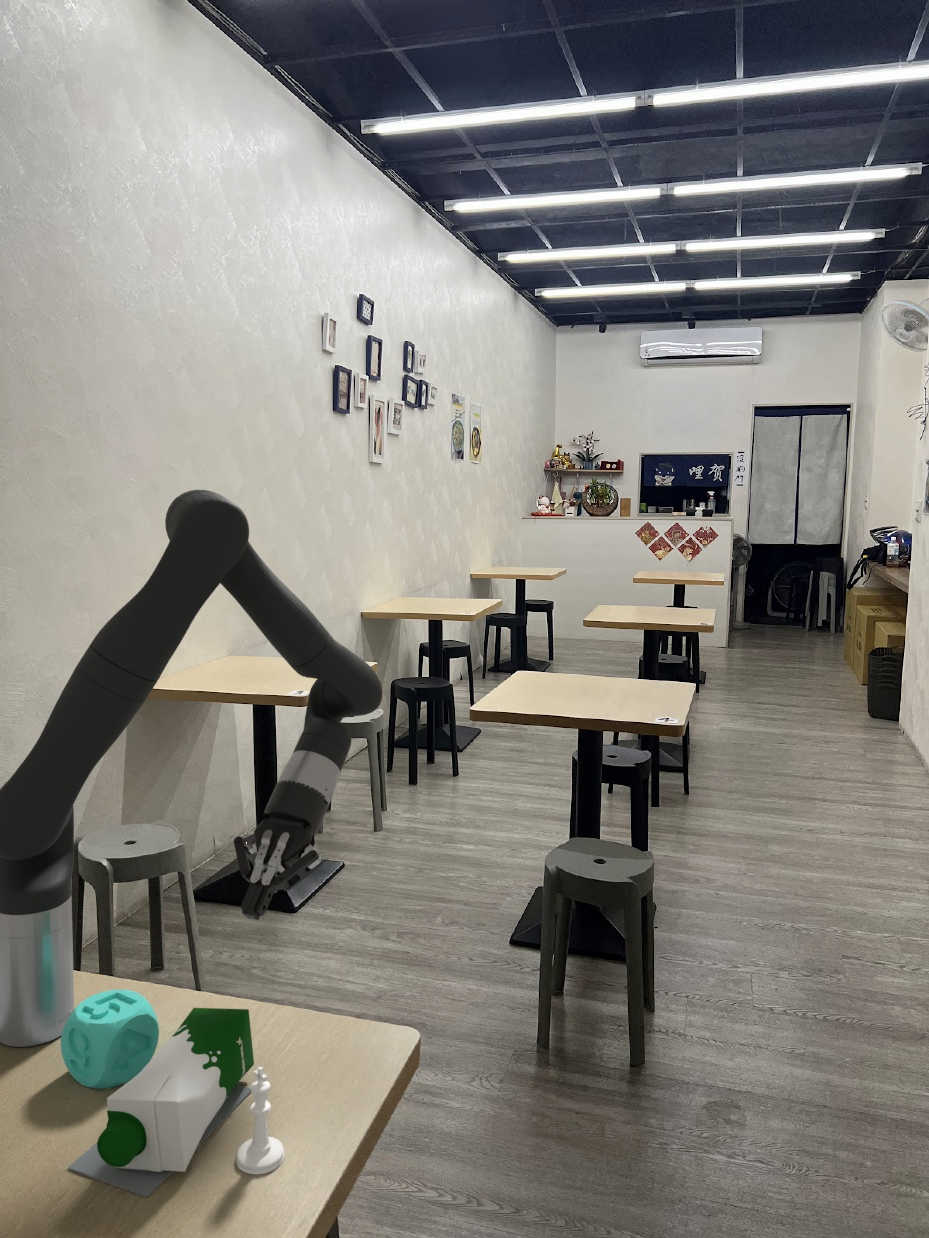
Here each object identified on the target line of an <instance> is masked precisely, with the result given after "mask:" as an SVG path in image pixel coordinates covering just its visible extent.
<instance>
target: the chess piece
mask: <svg viewBox="0 0 929 1238" xmlns="http://www.w3.org/2000/svg"><path fill="white" fill-rule="evenodd" d="M264 1069H265V1068H264V1067H263V1066H258V1067H257V1069H256V1070H254V1071H253V1076H254V1077H255V1078H257V1080H256V1081H254V1082H253V1083H252V1084H251V1085H250V1088H251V1094H252V1097H253V1101H254V1102H253V1103H251V1105H250V1108H249V1111H250V1113H251V1114H252V1115H255V1118H254V1127H253V1135H252V1138H250V1139H248V1140H246V1141H245V1142H243V1143H242V1144H241V1145H240V1146H239V1147H238V1150H237V1153H236V1159H235V1161H236V1162H235V1163H236V1166H237V1168H238V1169H239V1170H240V1171H242V1172H243V1173H245V1174H247V1175H248V1174H249V1175H264V1174H267V1173H270V1172H272V1171H274V1170H276V1169H277V1168H278V1167H280V1165H281V1164H282V1163H283V1162H284V1159H285V1148H284V1144H283V1143H282V1142H281V1141H280V1140H279V1139H277V1138H276V1137H273V1136H269V1132H268V1126H267V1124H268V1123H267V1116H266V1114H268V1113H269V1112H271V1109H272V1105H271V1103H270V1101H268V1100H267V1099H268V1096H269V1092H270V1090H271V1083H270V1082H269V1081H268V1075H266V1074H265V1071H264Z"/></svg>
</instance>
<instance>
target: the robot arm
mask: <svg viewBox="0 0 929 1238" xmlns="http://www.w3.org/2000/svg"><path fill="white" fill-rule="evenodd" d="M165 514H166V515H165V519H164V520H165V521H164V522H165V531H166V535H167V538H168V540H169V542H168V544H167V546H166V548H165V550H164V552H163V553H162V556H161V558H160V559H159V561H158V563H157V565H156V567H155V568H154V570H153V572H152V573H151V575H150V576H149V578H148V580H147V581H146V582H145V584H144V585H143V587H142V588H140V590H139V591H138V592H137V593H136V594H135V595H134V596H132V598H131V599H129V600H128V602H126V603H125V605H123V606H122V607H121V608H120V609H118V611H117V612H116V613H115V614H113V616H112V617H111V618H110V619H109V620H108V621H107V622H106V623H105V624H104V626H103V627H102V628H101V629H100V630H99V631H98V633H96V635H95V637H94V638H93V640H92V641H91V642H90V644H89V646H88V648H87V649H86V650H85V652H84V653H83V655H82V657H81V658H80V659H79V661H78V663H77V665H76V666H75V668H74V669H73V672H72V673H71V674H70V677H69V678H68V680H67V682H66V684H65V685H64V687H63V689H62V691H61V693H60V695H59V697H58V699H57V701H56V702H55V705H54V706H53V708H52V710H51V713H50V715H49V717H48V718H47V721H46V723H45V725H44V727H43V729H42V732H41V733H40V735H39V737H38V739H37V741H36V742H35V744H34V745H33V747H32V748H31V750H30V751H29V753H28V754H27V756H26V757H25V759H24V760H23V761H22V762H21V763H20V765H19V766H18V767H17V769H16V770H15V772H14V773H13V774H12V775H11V777H10V778H9V779H7V781H6V782H5V783H4V784H3V785H2V786H1V787H0V1043H1V1044H2V1045H5V1046H9V1047H14V1048H15V1047H16V1048H21V1047H22V1048H23V1047H24V1048H26V1047H33V1046H38V1045H42V1044H44V1043H49V1042H51V1041H53V1040H55V1039H57V1038H59V1037H61V1036H62V1032H63V1029H64V1026H65V1024H66V1021H67V1020H68V1018H69V1016H70V1015H71V1013H72V1012H73V1011H74V1009H75V999H74V998H75V989H74V988H75V987H74V985H75V984H74V983H75V982H74V947H73V946H74V941H73V940H74V939H73V938H74V937H73V910H72V909H73V906H72V905H73V904H72V901H73V900H72V881H73V880H72V879H73V874H74V873H73V871H74V865H75V864H74V862H75V822H74V821H75V817H74V816H75V815H74V814H75V811H74V810H75V809H74V804H75V803H76V801H77V798H78V796H79V795H80V792H81V790H82V788H83V786H84V784H85V783H86V781H87V780H88V778H89V776H90V775H91V773H92V771H93V770H94V768H95V767H96V766H97V764H98V763H99V762H100V760H101V759H102V758H103V757H104V756H105V754H107V752H108V750H110V748H111V747H112V746H113V744H115V742H116V741H117V740H118V738H119V737H120V736H121V735H122V734H123V732H124V731H125V729H126V728H127V727H128V725H129V724H130V723H131V721H132V720H133V718H134V717H135V716H136V715H137V713H138V711H139V710H140V709H141V708H142V706H143V705H144V704H145V701H146V700H147V699H148V697H149V695H150V693H151V692H152V690H153V689H154V687H155V686H156V685H157V683H158V681H159V679H160V678H161V677H162V674H163V672H164V671H165V669H166V667H167V666H168V663H169V662H170V660H171V658H173V656H174V654H175V652H176V651H177V649H178V648H179V646H180V645H181V642H182V641H183V639H184V637H185V636H186V634H187V632H188V630H189V629H190V627H191V625H192V623H193V621H194V620H195V618H196V616H197V615H198V614H199V612H200V610H201V609H202V607H204V604H206V602H207V600H209V598H210V596H211V595H212V594H213V593H214V592H215V591H216V589H217V587H219V586H220V585H221V586H222V587H223V588H224V589H225V590H226V591H227V592H228V593H229V594H230V595H231V596H232V598H233V599H235V601H236V602H237V603H238V604H239V606H240V607H241V608H242V609H243V611H244V612H245V613H246V614H247V615H248V617H249V618H250V619H251V620H252V621H253V623H254V625H256V627H257V628H258V629H259V630H260V632H261V633H262V635H263V636H264V637H265V638H266V639H267V641H268V642H269V643H270V644H271V646H272V647H273V648H274V649H275V650H276V651H277V652H278V653H279V655H280V656H281V657H282V658H283V659H284V661H286V663H287V664H288V665H289V666H290V667H291V669H292V670H293V671H295V672H296V673H297V674H298V675H300V676H301V677H305V678H310V679H315V681H314V683H313V684H312V686H311V688H310V689H309V690H310V691H309V693H308V698H307V703H306V711H305V716H304V723H303V730H302V733H301V734H300V737H299V738H298V740H297V743H296V745H295V747H294V749H293V751H292V753H291V755H290V758H289V760H288V761H286V764H285V765H284V766H283V767H284V768H283V769H282V772H281V773H280V776H279V778H278V780H277V782H276V784H275V786H274V789H273V790H272V794H271V796H270V797H269V800H268V802H267V804H266V806H265V809H264V812H263V817H262V821H261V822H260V823H259V824H258V825H257V826H256V827H255V828H254V830H253V833H252V834H250V835H247V836H246V837H242V836H241V835H239V836H236V837H235V838H234V840H233V845H234V849H235V854H236V858H237V864H238V867H239V873H240V875H241V876H242V877H243V879H245V880H246V881H247V882H248V883H249V886H248V888H247V891H246V893H245V895H244V898H243V900H242V902H241V904H240V905H241V906H240V909H241V913H242V915H243V916H244V917H245V918H247V919H250V920H254V921H259V920H260V918H261V917H264V915H265V914H266V912H267V910H268V907H269V905H270V903H271V901H272V898H273V896H274V894H275V893H277V892H278V891H282V890H284V891H285V892H288V891H290V890H292V889H294V887H295V886H297V885H299V884H300V883H301V882H302V881H303V880H305V879H306V878H308V877H309V876H310V875H311V874H313V873H314V872H315V871H316V870H318V869H319V868H321V867H322V866H323V864H324V859H323V858H322V856H321V855H320V854H319V853H318V851H317V850H316V849H315V848H314V847H315V844H316V839H315V836H316V834H317V833H318V832H319V830H320V827H321V826H322V822H323V820H324V818H325V816H326V812H327V810H328V808H329V805H330V803H331V801H332V799H333V797H334V795H335V794H334V793H335V791H336V788H337V784H338V781H339V778H340V774H341V772H342V770H343V766H344V764H345V762H346V760H347V757H348V755H349V752H350V750H351V747H352V735H351V732H350V731H349V730H348V729H347V728H346V727H345V726H344V725H343V724H341V723H342V721H343V719H344V718H351V717H361V716H366V715H369V714H371V713H373V712H375V711H376V710H377V709H378V708H379V707H380V706H381V702H382V699H383V692H384V691H383V686H382V682H381V680H380V678H379V676H378V674H377V673H376V672H375V670H374V669H373V668H372V667H371V666H370V664H368V663H367V662H366V661H364V659H362V658H361V657H359V656H358V655H357V654H355V653H354V652H353V651H351V650H350V649H349V648H347V647H346V646H344V645H343V644H341V643H339V642H338V641H337V640H336V639H334V638H333V636H332V635H331V633H330V632H329V631H328V630H327V628H326V627H325V626H324V625H323V624H322V623H321V622H320V620H319V619H318V618H317V616H316V615H315V614H314V613H313V612H312V611H311V610H310V609H309V607H307V605H306V604H305V603H304V601H302V600H301V599H300V598H299V597H298V596H297V595H296V594H295V593H294V592H293V591H292V590H291V589H290V588H289V587H288V586H287V585H286V584H285V583H284V582H283V581H282V579H280V578H279V577H278V576H277V575H276V574H275V573H274V572H273V571H272V570H271V568H269V566H268V565H267V564H266V563H265V562H264V560H263V559H262V558H261V557H260V555H259V554H258V552H256V550H255V549H254V547H253V546H252V544H251V543H250V541H249V539H250V525H249V522H248V518H247V516H246V514H245V512H244V511H243V509H241V508H240V506H238V505H237V504H236V503H235V502H233V501H232V500H230V499H229V498H227V497H226V496H223V495H221V494H220V493H217V492H215V491H212V490H207V489H192V490H189V491H186V492H185V491H184V492H183V493H181V494H179V495H178V496H177V497H176V498H174V500H172V502H171V503H170V505H169V506H168V508H167V511H166V513H165ZM255 849H256V856H255V859H253V854H255Z"/></svg>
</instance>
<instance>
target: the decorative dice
mask: <svg viewBox="0 0 929 1238" xmlns="http://www.w3.org/2000/svg"><path fill="white" fill-rule="evenodd" d="M159 1036H160V1027H159V1022H158V1017H157V1014H156V1012H155V1010H154V1008H153V1006H152V1005H151V1003H150V1002H149V1001H148V999H146V998H145V997H144V996H143V995H141V994H140V993H139V992H137V991H133V990H131V989H130V990H129V989H112V990H111V989H110V990H106V991H101V992H98V993H96V994H92V995H91V996H88V997H86V998H85V999H83V1000H82V1001H81V1002H80V1003H79V1004H77V1006H76V1007H74V1011H73V1012H72V1013H71V1015H70V1016H69V1018H68V1020H67V1021H66V1024H65V1026H64V1029H63V1032H62V1035H61V1036H60V1050H61V1055H62V1059H63V1061H64V1064H65V1067H66V1069H67V1070H68V1072H69V1074H70V1076H72V1077H73V1078H74V1080H75V1081H76V1082H78V1083H79V1084H81V1085H83V1086H84V1087H86V1088H91V1089H97V1090H99V1089H100V1090H101V1089H110V1088H111V1089H112V1088H115V1087H119V1086H123V1085H125V1084H126V1083H127V1082H129V1081H130V1080H131V1079H133V1078H134V1077H135V1076H137V1075H138V1074H139V1073H140V1072H141V1071H142V1070H143V1069H144V1067H145V1066H146V1065H147V1064H148V1063H149V1062H150V1061H151V1060H152V1058H153V1057H154V1056H155V1052H156V1050H157V1047H158V1042H159V1038H160V1037H159Z"/></svg>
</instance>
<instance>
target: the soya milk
mask: <svg viewBox="0 0 929 1238" xmlns="http://www.w3.org/2000/svg"><path fill="white" fill-rule="evenodd" d="M253 1050H254V1049H253V1039H252V1029H251V1019H250V1010H249V1008H247V1009H246V1008H222V1007H221V1008H219V1007H218V1008H217V1007H216V1008H215V1007H192V1010H191V1011H190V1012H189V1013H188V1015H187V1016H186V1018H185V1019H184V1021H182V1023H181V1025H180V1026H179V1027H178V1028H177V1029H176V1031H175V1032H174V1034H172V1036H171V1037H170V1038H169V1039H168V1041H166V1043H165V1044H164V1045H163V1046H162V1047H161V1048H160V1049H159V1050H158V1052H156V1053H155V1054H154V1055H153V1057H152V1058H151V1060H150V1062H149V1063H148V1064H147V1065H146V1066H145V1067H144V1069H143V1070H142V1071H141V1072H140V1073H139V1074H138V1075H137V1076H135V1077H134V1078H133V1079H131V1080H130V1081H129V1082H127V1083H124V1084H123V1085H121V1087H119V1088H118V1089H117V1090H116V1091H115V1092H113V1093H112V1094H111V1095H109V1096H107V1098H106V1104H107V1110H106V1113H107V1123H106V1127H105V1129H104V1130H103V1131H102V1132H101V1134H100V1135H99V1137H98V1139H97V1142H96V1143H97V1149H98V1153H99V1155H100V1157H101V1158H102V1159H103V1160H104V1161H105V1162H106V1163H107V1164H109V1165H111V1166H113V1167H115V1168H125V1169H137V1170H150V1171H154V1172H162V1171H163V1170H165V1171H173V1172H181V1173H182V1172H183V1173H184V1172H185V1173H186V1171H187V1168H188V1166H189V1164H190V1161H191V1159H192V1158H193V1156H194V1153H195V1152H196V1149H197V1148H198V1147H197V1145H198V1143H199V1141H200V1139H201V1137H202V1135H203V1133H204V1131H205V1129H206V1128H207V1126H208V1125H209V1124H210V1122H211V1121H212V1119H213V1118H214V1116H215V1115H216V1113H217V1112H218V1111H219V1109H220V1108H221V1106H222V1105H223V1103H224V1102H225V1100H226V1099H227V1098H228V1096H229V1095H230V1093H231V1092H232V1090H233V1089H234V1088H235V1086H236V1085H238V1084H239V1082H240V1081H241V1080H242V1078H244V1077H245V1075H246V1074H247V1073H248V1072H249V1071H250V1069H251V1068H252V1067H253V1066H254V1065H255V1060H254V1051H253Z"/></svg>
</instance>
